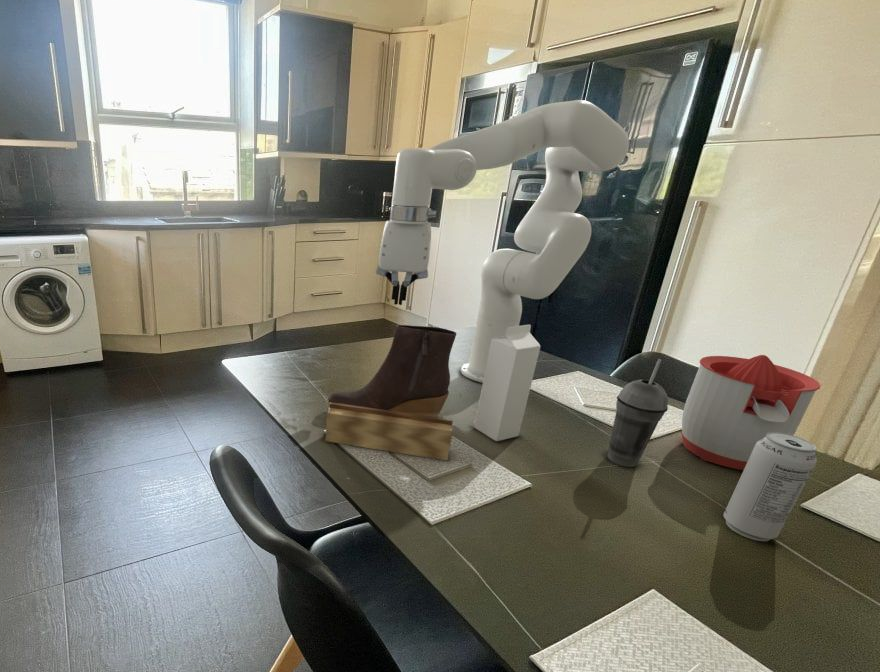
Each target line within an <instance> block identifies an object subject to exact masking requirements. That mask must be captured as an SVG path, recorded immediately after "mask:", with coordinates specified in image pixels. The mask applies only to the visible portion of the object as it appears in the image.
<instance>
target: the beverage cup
mask: <svg viewBox="0 0 880 672" xmlns="http://www.w3.org/2000/svg"><path fill="white" fill-rule="evenodd" d="M661 363H662V359H661V358H658V359H657V361H656V363H655V366H654V369H653V371H652V373H651V376H650V379H637V380H633V381H631V382H628V383H627V384H626V385H624V386H623V387H622V389H621V390H620V391H619V393H618V395H617V396H616V399H617V400H616V404H615V408H616V411H615V416H614V420H613V426H612V431H611V435H610V440H609V445H608V453H607V459H609V460H610V461H611V462H612V463H615V464H616V465H620V466H623V467H627V468H633V467H636V466H638V463H639V461H640V460H641V458H642V457H643V456H642V455H643V454H644V452H645V450H646V449H647V446H648V444H649V442H650V441H651V438H652V436H653V434H654V433H655V430H656V428H657V426H658V424H659V422H660V421H661V420H662V418H663V417H664V416H665V413H666V412H667V411H668V410H669V408H668V407H669V397H668V394H667V392H666V390H665V389H664V388H663V387H662V386H661V385H660V384H659V383H657V382H655V381H654V379H655V378H656V375H657V372H658V370H659V368H660V365H661Z"/></svg>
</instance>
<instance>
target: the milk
mask: <svg viewBox="0 0 880 672" xmlns="http://www.w3.org/2000/svg"><path fill="white" fill-rule="evenodd" d="M531 328H532V325H531V324H523V325H519V326H515V327H508V328H507V331H506V335H505V336H502V337H498V338H495V339H492V340H491V345H490V350H489V355H488V360H487V365H486V370H485V375H484V380H483V383H482V385H481V389H480V395H479V400H478V405H477V410H476V415H475V420H474V425H473V428H474V429H476V430H477V431H479V432H481V434H483V435H485V436H487V437H488V438H490V439H492V440H493V441H495V442H499V441H504V440H507V439H511V438H516V437H519V436H520V432H521V428H522V425H523V419H524V416H525V412H526V409H527V403H528V400H529V395H530V392H531V387H532V383H533V378H534V375H535V371H536V367H537V362H538V360H539V355H540V351H541V344H540V343H539V341H537V339H536V338H535V337H534V336H533V335H532V333H531Z"/></svg>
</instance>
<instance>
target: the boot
mask: <svg viewBox="0 0 880 672" xmlns="http://www.w3.org/2000/svg"><path fill="white" fill-rule="evenodd" d="M456 337H457V332H456V331H454V330H450V329H447V328H444V327H443V328H442V327H437V326H436V327H435V326H426V325H410V324H396V326H395V329H394V335H393V339H392V342H391V346H390V348H389V351H388V353H387V355H386V357H385V358H384V361H383V362H382V364H381V365H380V367H379V368H378V370H377V371H376V373H375V375H374V376H373V377H372V378H371V380H370V381H369V382H367V384H366V385H365V386H363V387H361V388H360V389H357V390H339V391H338V390H337V391H334V392H333V393H332V394H331V395H330V396H329V397H328V398H327V399H326V405H327V408H328V409H329V408H330V402H332V403H339V404H346V405H353V406H361V407H368V408H375V409H382V410H389V411H396V412H403V413H411V414H418V415H425V416H432V417H439V416H440V413H441V411H442V409H443V407H444V405H445V403H446V401H447V399H448V397H449V393H450V391H449V387H450V384H451V383H450V382H451V372H450V366H449V365H450V364H449V363H450V356H451V352H452V349H453V346H454V343H455V340H456Z"/></svg>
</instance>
